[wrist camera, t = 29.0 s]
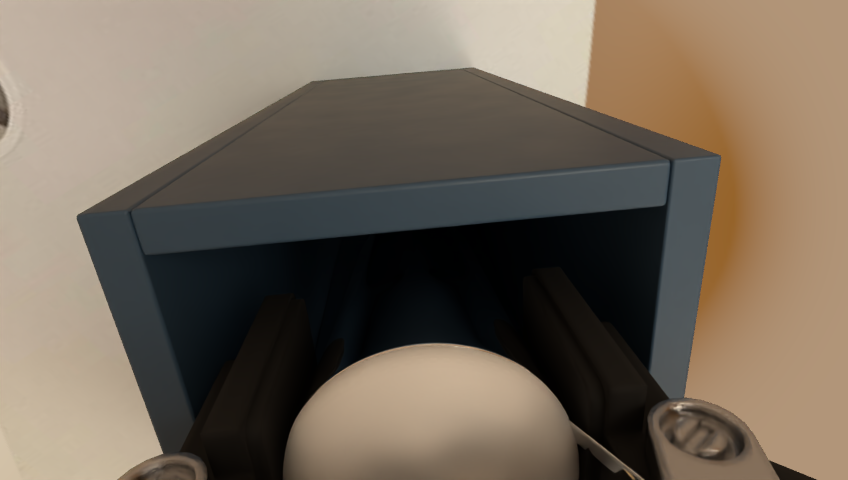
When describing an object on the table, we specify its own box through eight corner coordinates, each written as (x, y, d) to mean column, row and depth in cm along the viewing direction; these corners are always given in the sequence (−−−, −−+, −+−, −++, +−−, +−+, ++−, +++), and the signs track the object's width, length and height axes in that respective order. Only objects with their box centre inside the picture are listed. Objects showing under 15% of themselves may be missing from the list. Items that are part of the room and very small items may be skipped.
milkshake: (533, 283, 16) (728, 644, 6) (376, 341, 16) (348, 750, 7) (486, 151, 14) (663, 381, 5) (313, 220, 14) (165, 549, 5)
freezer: (311, 81, 30) (73, 214, 8) (474, 67, 31) (722, 154, 8) (335, 233, 34) (226, 628, 11) (479, 219, 35) (657, 576, 12)
